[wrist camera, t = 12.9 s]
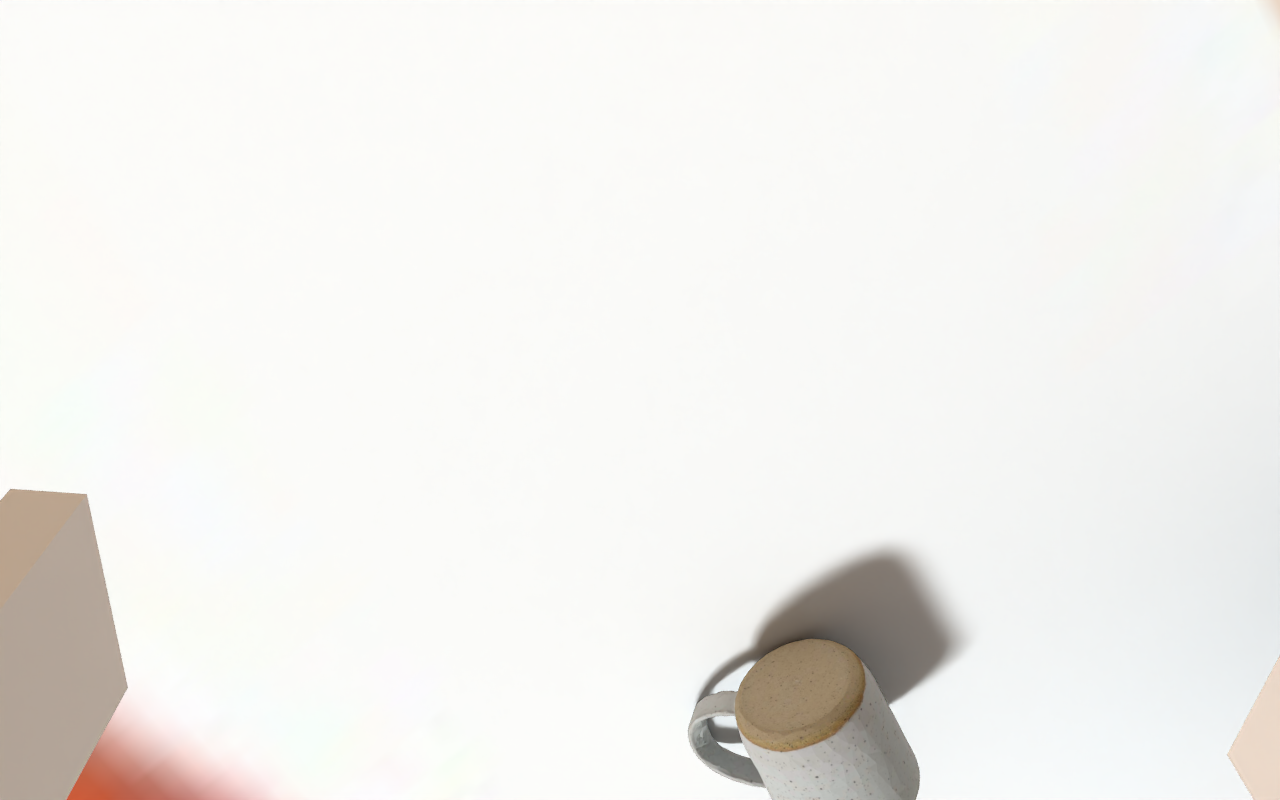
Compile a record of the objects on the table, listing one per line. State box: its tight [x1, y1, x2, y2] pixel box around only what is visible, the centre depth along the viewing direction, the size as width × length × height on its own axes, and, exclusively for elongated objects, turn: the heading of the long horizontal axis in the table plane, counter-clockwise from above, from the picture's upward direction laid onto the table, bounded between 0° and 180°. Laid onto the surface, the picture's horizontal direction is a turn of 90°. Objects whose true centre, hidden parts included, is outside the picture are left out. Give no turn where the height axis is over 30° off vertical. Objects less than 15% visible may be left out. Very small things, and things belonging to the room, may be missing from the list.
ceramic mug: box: [688, 639, 920, 800], centre depth 52 cm, size 10×8×7 cm
